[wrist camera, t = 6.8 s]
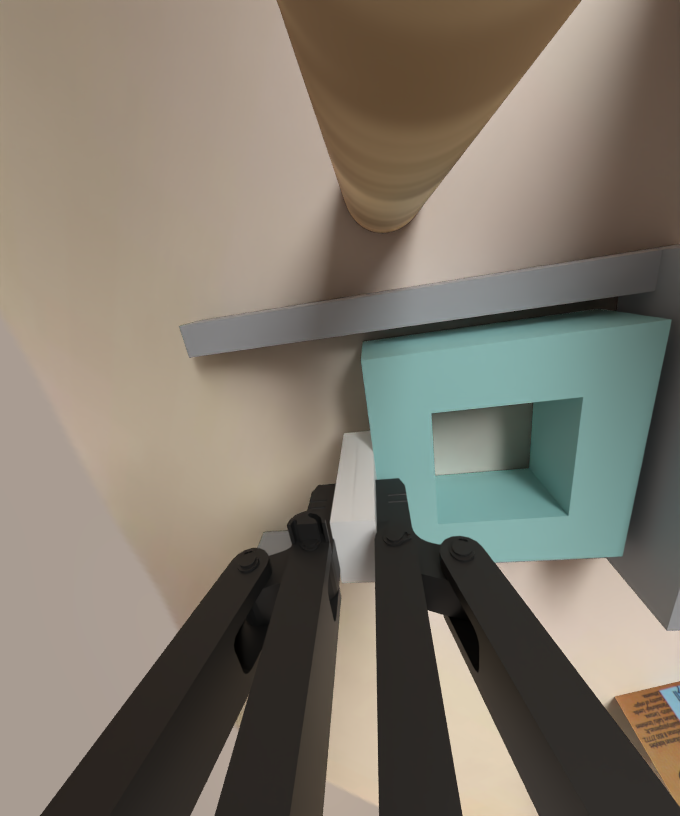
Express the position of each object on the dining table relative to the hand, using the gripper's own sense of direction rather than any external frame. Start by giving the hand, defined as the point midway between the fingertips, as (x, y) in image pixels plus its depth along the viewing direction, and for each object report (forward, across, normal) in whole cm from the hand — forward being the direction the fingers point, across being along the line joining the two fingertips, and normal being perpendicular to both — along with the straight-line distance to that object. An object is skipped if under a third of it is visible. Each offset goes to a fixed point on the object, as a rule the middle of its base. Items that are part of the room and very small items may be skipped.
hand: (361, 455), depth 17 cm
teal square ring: (+2, +6, 0) cm, 6 cm away
